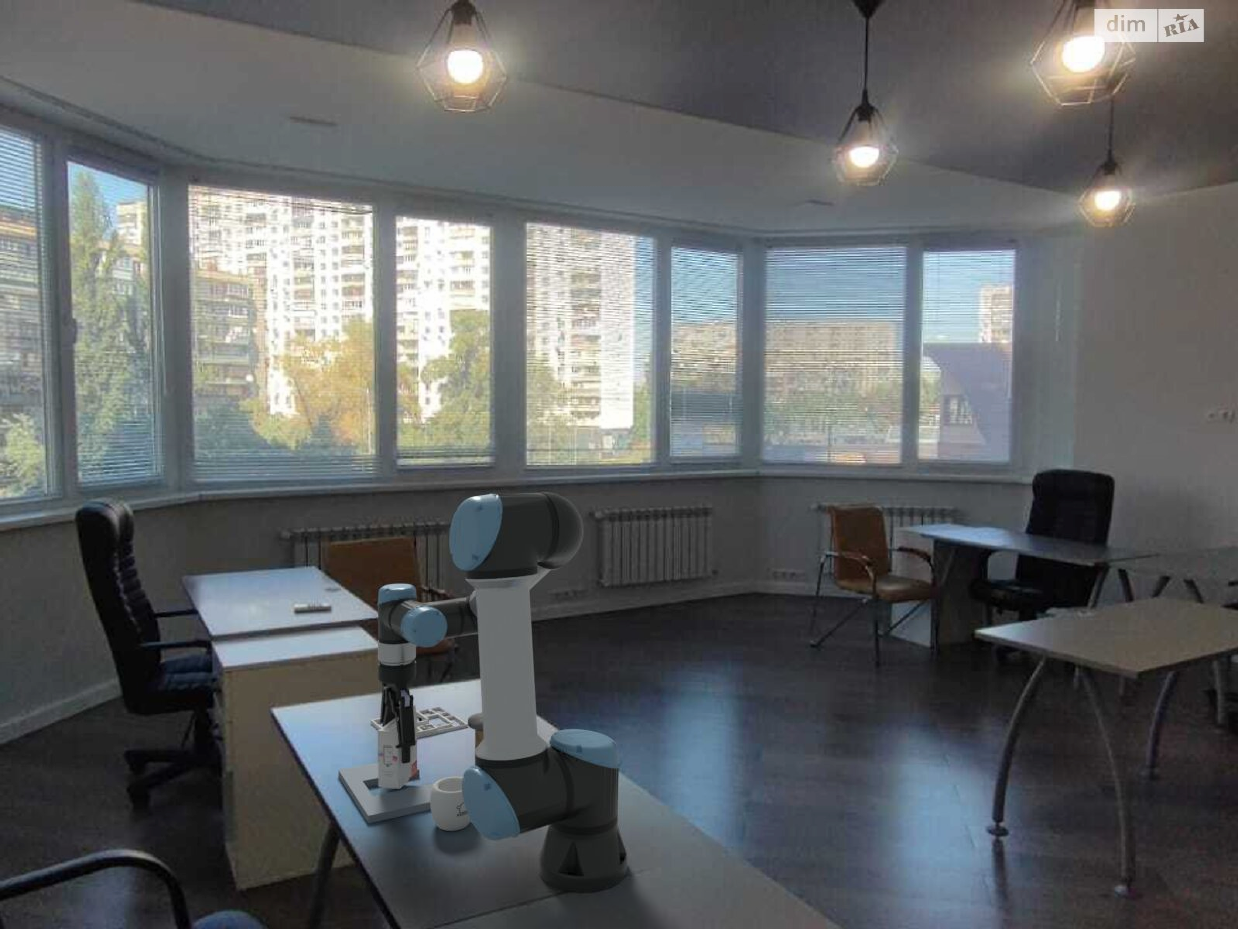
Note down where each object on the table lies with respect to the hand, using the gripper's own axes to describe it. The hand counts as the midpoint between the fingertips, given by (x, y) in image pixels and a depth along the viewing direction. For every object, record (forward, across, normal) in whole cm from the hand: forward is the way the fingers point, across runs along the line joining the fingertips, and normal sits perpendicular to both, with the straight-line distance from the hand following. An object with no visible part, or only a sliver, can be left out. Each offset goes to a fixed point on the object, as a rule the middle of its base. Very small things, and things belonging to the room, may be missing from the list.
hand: (397, 768), depth 177 cm
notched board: (+4, 0, +2) cm, 5 cm away
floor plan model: (+5, +35, -12) cm, 37 cm away
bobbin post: (+4, -8, -16) cm, 19 cm away
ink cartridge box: (+3, 0, 0) cm, 3 cm away
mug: (+5, -20, -6) cm, 21 cm away
